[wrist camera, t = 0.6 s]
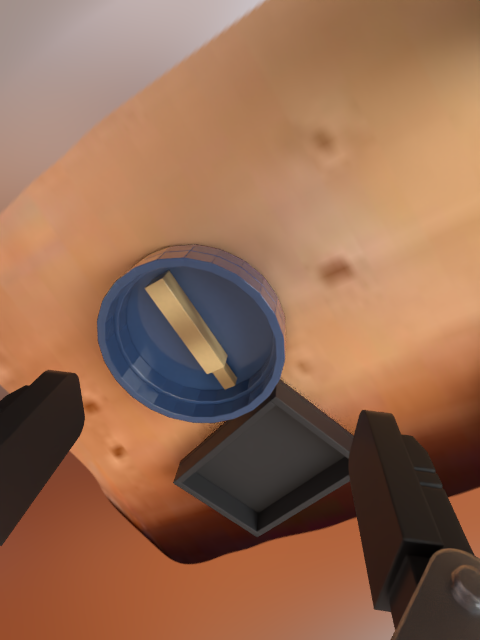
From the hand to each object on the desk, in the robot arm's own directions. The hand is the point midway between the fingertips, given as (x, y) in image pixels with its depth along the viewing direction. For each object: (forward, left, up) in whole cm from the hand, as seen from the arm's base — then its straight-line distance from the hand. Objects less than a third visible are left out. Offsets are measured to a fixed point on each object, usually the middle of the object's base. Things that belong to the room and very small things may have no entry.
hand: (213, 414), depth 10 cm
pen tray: (+14, +13, -17) cm, 25 cm away
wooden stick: (+8, 0, -16) cm, 18 cm away
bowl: (+8, 0, -17) cm, 18 cm away
